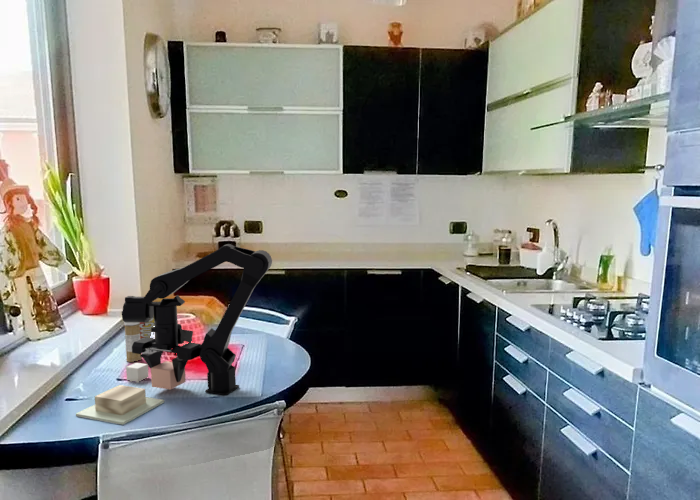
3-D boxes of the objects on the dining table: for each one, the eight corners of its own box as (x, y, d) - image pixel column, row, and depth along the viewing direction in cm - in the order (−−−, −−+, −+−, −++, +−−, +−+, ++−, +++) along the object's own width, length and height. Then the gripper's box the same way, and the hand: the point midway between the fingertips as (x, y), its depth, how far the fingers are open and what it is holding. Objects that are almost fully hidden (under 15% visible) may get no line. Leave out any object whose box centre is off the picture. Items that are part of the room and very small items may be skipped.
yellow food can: (122, 348, 186) (120, 312, 185) (138, 340, 195) (136, 306, 193) (146, 349, 184) (144, 313, 183) (161, 342, 193) (160, 307, 191)
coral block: (185, 381, 149) (184, 363, 149) (170, 389, 144) (169, 370, 143) (167, 379, 151) (166, 361, 151) (151, 386, 146) (150, 368, 145)
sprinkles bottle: (141, 357, 176) (138, 315, 175) (142, 361, 172) (140, 318, 171) (125, 359, 174) (123, 316, 173) (126, 363, 170) (124, 319, 169)
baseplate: (164, 402, 140) (164, 399, 140) (122, 424, 127) (122, 422, 127) (119, 394, 145) (119, 392, 145) (75, 416, 132) (75, 413, 132)
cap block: (148, 378, 158) (147, 364, 157) (138, 382, 154) (137, 368, 153) (137, 376, 159) (136, 362, 159) (126, 381, 155) (126, 367, 155)
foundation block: (146, 402, 138) (145, 388, 138) (122, 415, 131) (121, 400, 130) (120, 398, 141) (119, 384, 141) (95, 410, 134) (94, 396, 133)
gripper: (214, 318, 150) (216, 374, 152) (157, 312, 156) (160, 366, 158) (188, 328, 139) (191, 388, 141) (128, 321, 146) (131, 379, 148)
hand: (168, 380), depth 147 cm, fingers closed on coral block, 6 cm apart
